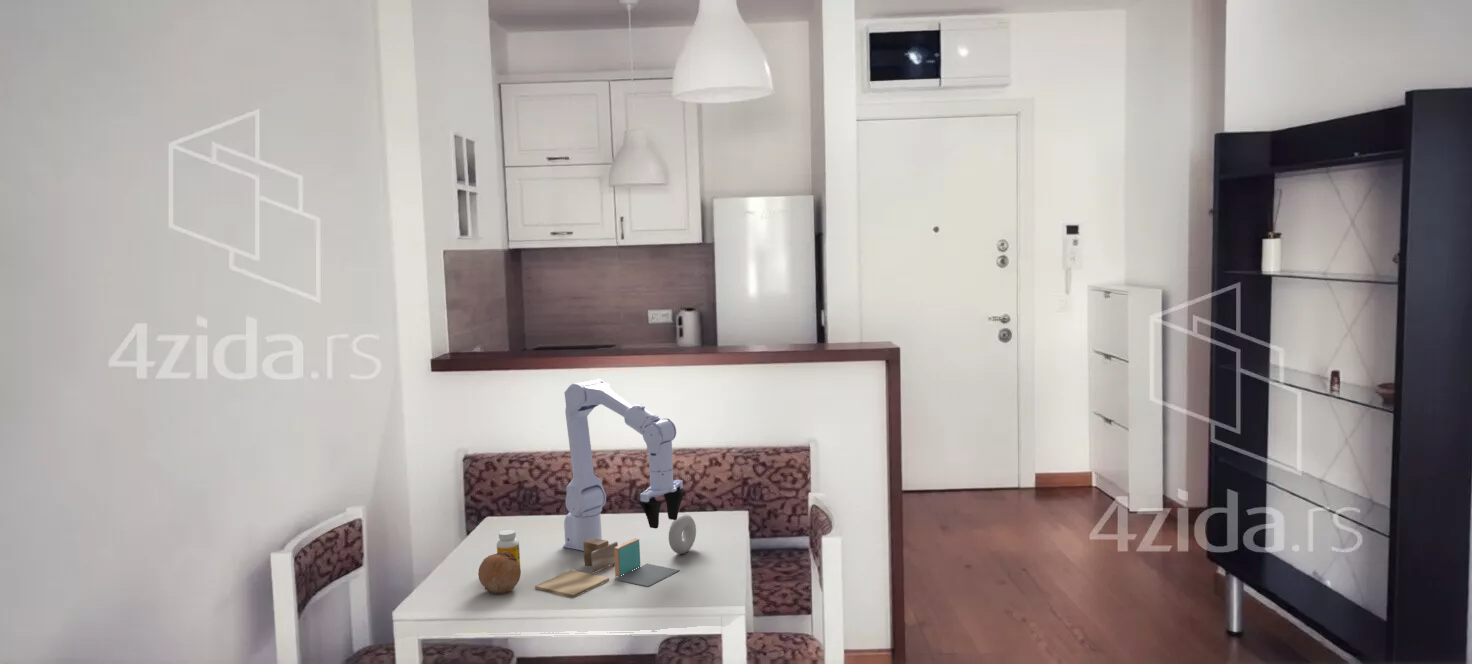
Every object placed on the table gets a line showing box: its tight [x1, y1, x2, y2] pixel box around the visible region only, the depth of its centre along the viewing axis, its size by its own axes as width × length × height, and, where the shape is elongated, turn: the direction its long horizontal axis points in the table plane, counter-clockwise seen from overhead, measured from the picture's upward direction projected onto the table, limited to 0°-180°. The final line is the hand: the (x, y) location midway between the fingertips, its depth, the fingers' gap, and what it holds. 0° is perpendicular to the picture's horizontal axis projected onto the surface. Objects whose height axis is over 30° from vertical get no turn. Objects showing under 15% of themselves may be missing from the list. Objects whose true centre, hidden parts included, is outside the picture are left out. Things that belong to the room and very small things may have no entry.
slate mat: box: [614, 563, 680, 588], centre depth 218 cm, size 10×12×1 cm
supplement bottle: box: [496, 529, 521, 566], centre depth 225 cm, size 5×5×10 cm
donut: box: [668, 513, 697, 555], centre depth 233 cm, size 10×4×10 cm, turn 150°
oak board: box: [534, 569, 610, 598], centre depth 214 cm, size 12×12×1 cm
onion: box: [477, 551, 522, 595], centre depth 211 cm, size 10×9×10 cm
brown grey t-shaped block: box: [583, 538, 619, 573], centre depth 227 cm, size 6×9×6 cm, turn 147°
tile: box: [614, 538, 641, 578], centre depth 221 cm, size 1×8×7 cm, turn 147°
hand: (663, 523), depth 226 cm, fingers open, 7 cm apart
